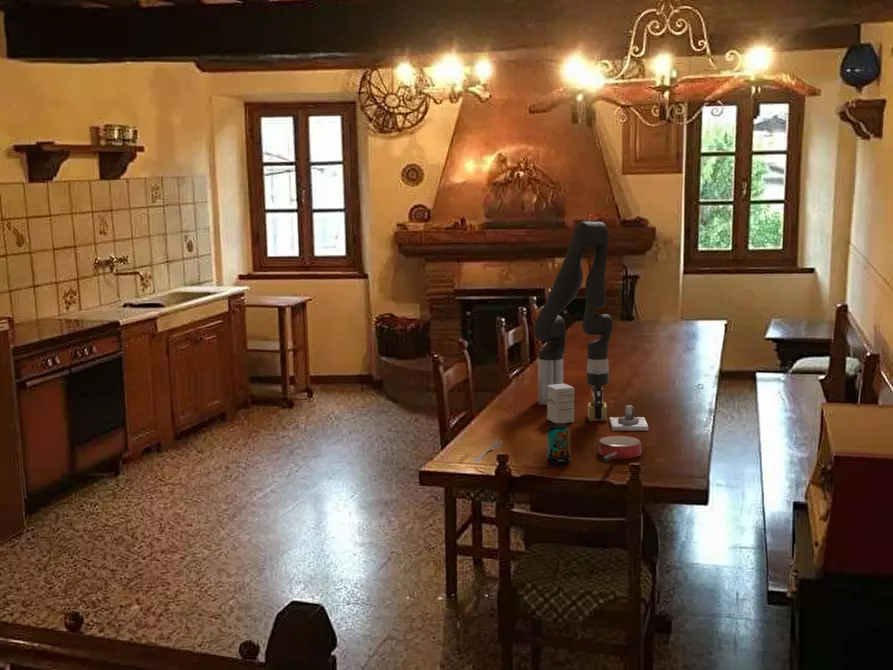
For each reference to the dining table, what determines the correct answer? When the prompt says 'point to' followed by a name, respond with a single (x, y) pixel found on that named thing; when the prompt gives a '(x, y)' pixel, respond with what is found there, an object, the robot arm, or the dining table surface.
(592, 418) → the box
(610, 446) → the frying pan
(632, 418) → the shaft stand
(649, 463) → the dining table surface
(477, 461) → the fork
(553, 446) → the beverage can
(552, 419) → the supplement box
